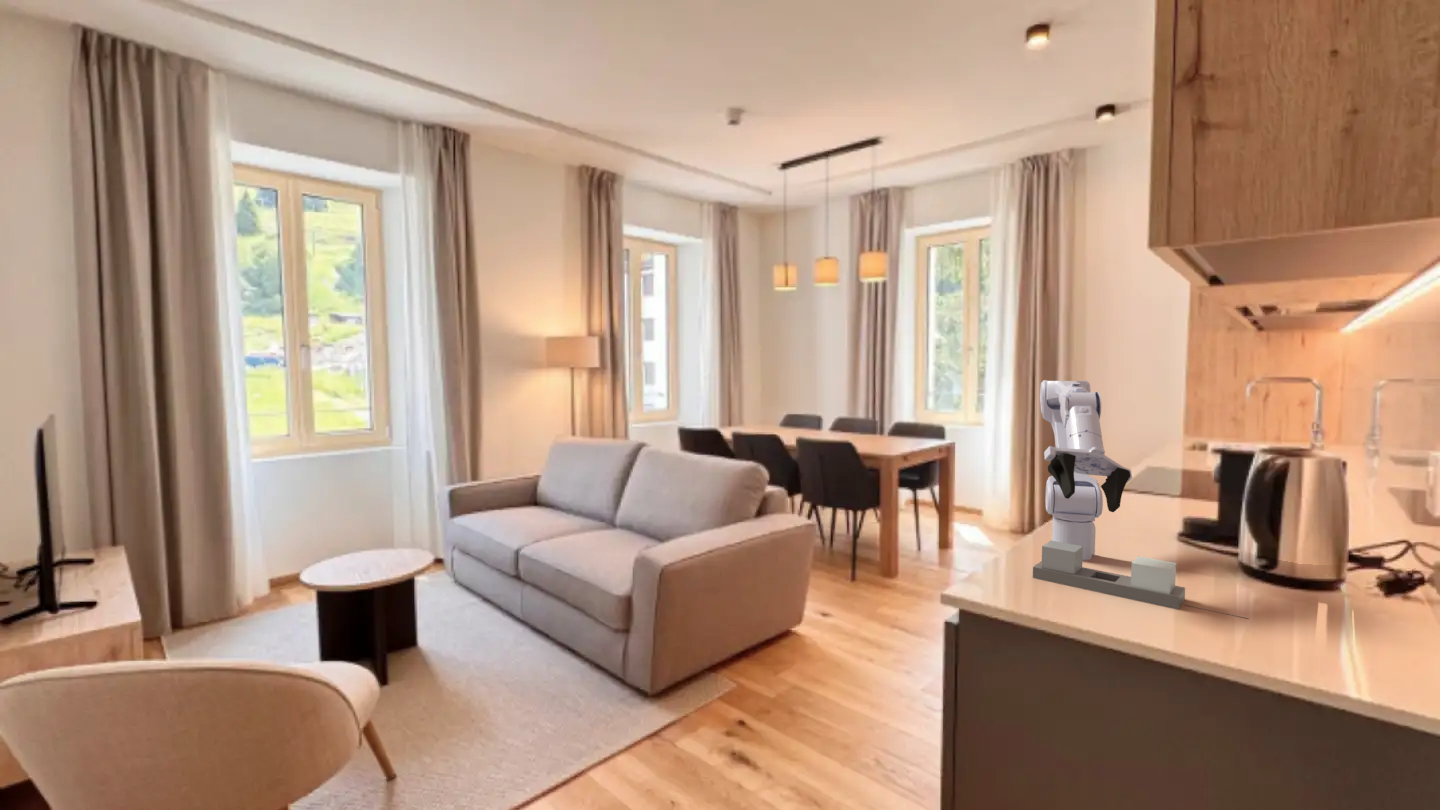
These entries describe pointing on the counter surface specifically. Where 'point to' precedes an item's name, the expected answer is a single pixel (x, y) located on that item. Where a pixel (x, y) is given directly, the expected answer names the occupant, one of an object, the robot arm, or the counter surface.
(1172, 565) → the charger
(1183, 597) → the power strip
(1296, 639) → the counter surface
